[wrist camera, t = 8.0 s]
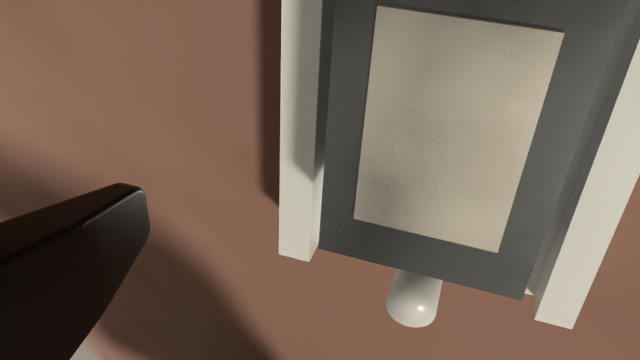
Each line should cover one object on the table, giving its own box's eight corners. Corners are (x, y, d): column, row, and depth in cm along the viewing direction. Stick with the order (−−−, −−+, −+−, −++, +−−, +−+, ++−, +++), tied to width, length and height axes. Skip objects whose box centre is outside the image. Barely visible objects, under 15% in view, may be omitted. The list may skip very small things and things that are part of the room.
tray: (568, 288, 20) (575, 372, 17) (297, 223, 22) (259, 285, 19) (793, -264, 11) (890, -299, 8) (313, -273, 14) (251, -303, 11)
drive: (523, 228, 18) (521, 302, 15) (348, 188, 20) (317, 250, 17) (634, -112, 13) (664, -96, 10) (381, -134, 14) (343, -125, 11)
